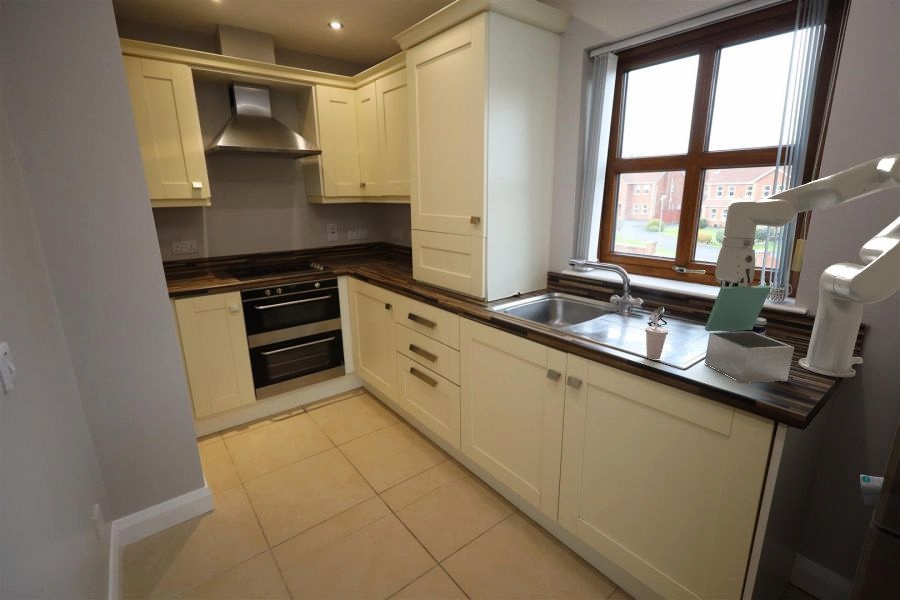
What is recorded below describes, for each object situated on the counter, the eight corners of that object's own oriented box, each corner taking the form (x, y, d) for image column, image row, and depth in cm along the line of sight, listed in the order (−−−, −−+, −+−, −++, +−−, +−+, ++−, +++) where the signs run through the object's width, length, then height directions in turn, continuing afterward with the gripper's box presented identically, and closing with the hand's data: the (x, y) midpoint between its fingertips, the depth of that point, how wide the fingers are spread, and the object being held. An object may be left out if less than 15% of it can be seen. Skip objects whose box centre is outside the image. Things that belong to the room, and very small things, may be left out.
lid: (752, 329, 126) (746, 325, 128) (771, 287, 119) (765, 284, 121) (707, 331, 124) (702, 327, 126) (724, 288, 117) (718, 285, 119)
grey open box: (745, 361, 128) (751, 331, 125) (787, 381, 114) (794, 347, 112) (704, 363, 126) (709, 332, 124) (741, 383, 113) (747, 349, 110)
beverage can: (737, 353, 134) (744, 318, 132) (741, 349, 138) (748, 315, 135) (759, 358, 130) (766, 322, 128) (762, 354, 134) (769, 318, 132)
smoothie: (657, 354, 133) (663, 313, 130) (668, 362, 127) (674, 318, 124) (638, 354, 133) (643, 313, 130) (648, 362, 127) (653, 318, 124)
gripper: (771, 246, 114) (759, 310, 119) (729, 240, 129) (721, 298, 133) (746, 246, 113) (735, 310, 118) (707, 241, 128) (699, 298, 132)
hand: (728, 304), depth 125 cm, fingers closed
